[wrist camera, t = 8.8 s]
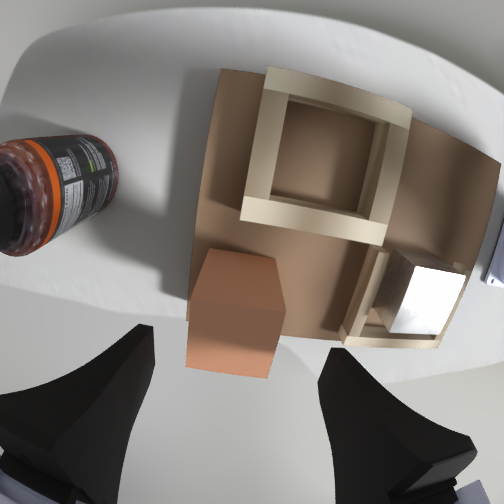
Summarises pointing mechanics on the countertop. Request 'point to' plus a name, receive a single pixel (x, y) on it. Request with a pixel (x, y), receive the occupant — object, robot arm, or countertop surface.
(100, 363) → the robot arm
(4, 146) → the supplement bottle
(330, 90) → the collar
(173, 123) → the countertop surface
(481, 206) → the wooden compartment tray
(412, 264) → the block
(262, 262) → the terracotta rectangular block
